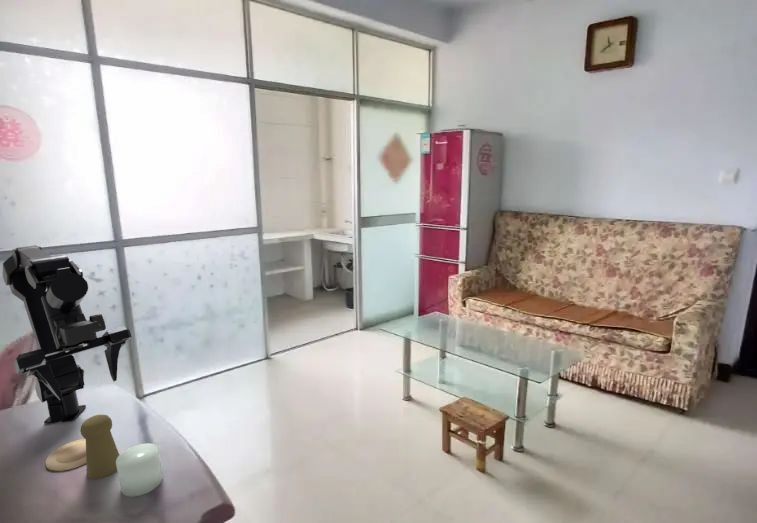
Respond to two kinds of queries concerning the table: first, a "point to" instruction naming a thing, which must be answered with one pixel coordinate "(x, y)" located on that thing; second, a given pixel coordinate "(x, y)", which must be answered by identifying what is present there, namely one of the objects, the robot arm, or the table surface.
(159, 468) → the pale mint rounded cylinder
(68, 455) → the trivet
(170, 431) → the table surface
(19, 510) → the table surface
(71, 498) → the table surface
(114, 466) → the pepper shaker
